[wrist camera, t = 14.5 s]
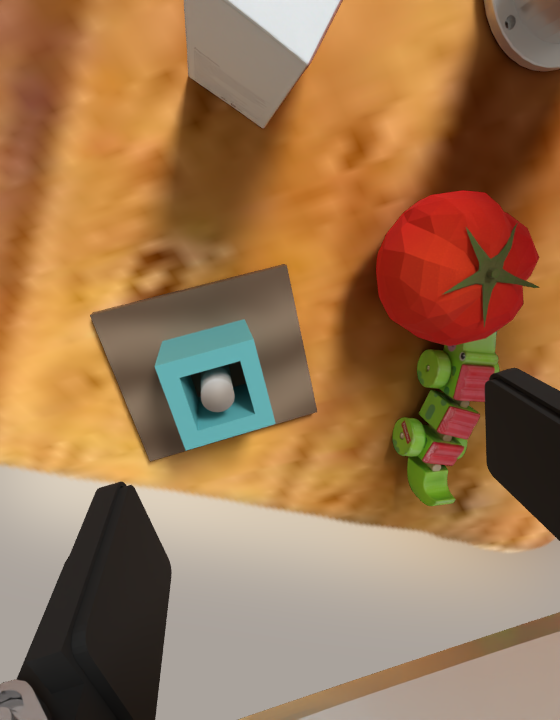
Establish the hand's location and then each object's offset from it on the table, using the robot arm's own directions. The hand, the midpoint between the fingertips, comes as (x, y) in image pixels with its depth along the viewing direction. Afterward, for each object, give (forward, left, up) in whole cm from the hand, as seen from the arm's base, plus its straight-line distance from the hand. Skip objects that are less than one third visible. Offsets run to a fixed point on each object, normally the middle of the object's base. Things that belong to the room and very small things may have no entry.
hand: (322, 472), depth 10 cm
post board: (+5, -3, -25) cm, 26 cm away
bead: (+5, -3, -24) cm, 25 cm away
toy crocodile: (+15, +17, -26) cm, 34 cm away
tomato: (+1, +16, -25) cm, 30 cm away
